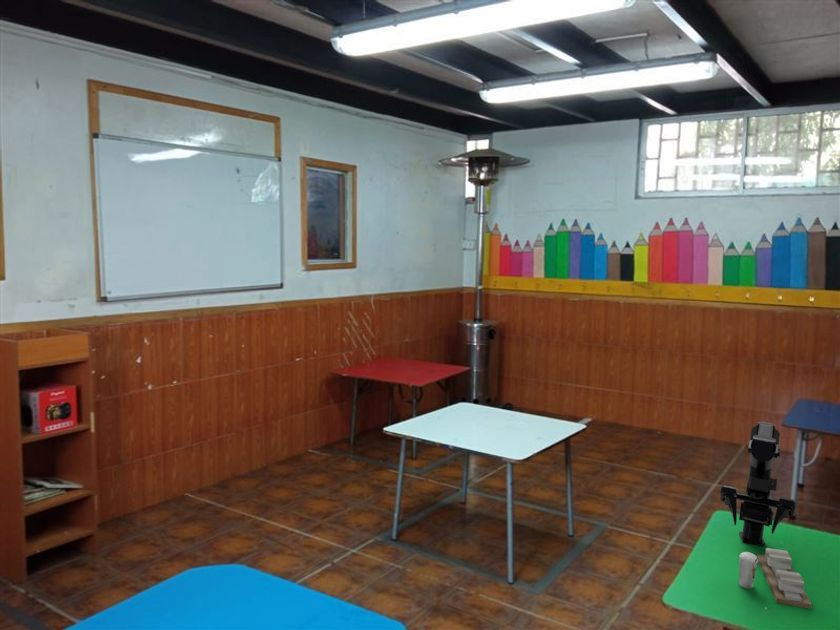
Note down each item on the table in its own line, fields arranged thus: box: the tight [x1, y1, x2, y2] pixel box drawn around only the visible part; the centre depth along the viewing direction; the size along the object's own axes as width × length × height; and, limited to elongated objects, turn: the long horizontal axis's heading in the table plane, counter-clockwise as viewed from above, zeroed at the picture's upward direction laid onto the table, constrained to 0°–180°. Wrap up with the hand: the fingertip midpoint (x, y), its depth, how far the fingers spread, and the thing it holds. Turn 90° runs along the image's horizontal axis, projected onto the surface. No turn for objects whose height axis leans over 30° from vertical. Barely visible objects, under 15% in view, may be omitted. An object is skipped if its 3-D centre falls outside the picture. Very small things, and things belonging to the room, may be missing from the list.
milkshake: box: [738, 551, 759, 590], centre depth 180 cm, size 4×5×10 cm
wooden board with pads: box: [756, 547, 812, 609], centre depth 184 cm, size 24×8×5 cm, turn 165°
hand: (753, 529), depth 186 cm, fingers open, 9 cm apart
